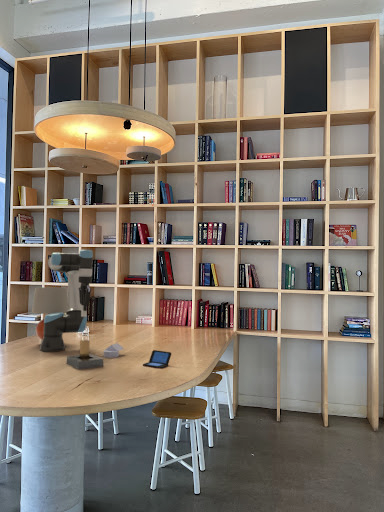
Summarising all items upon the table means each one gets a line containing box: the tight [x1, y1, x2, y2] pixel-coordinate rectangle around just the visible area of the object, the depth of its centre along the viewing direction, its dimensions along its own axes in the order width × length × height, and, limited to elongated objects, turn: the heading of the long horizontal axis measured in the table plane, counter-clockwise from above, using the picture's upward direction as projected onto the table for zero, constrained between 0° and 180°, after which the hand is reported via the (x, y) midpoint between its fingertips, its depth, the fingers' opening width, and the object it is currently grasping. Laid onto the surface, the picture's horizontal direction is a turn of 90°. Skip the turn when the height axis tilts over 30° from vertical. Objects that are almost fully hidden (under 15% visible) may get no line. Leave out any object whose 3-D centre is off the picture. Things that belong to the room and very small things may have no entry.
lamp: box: [31, 286, 68, 344], centre depth 290 cm, size 25×25×39 cm
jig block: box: [66, 353, 104, 370], centre depth 226 cm, size 16×14×4 cm
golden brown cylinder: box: [79, 339, 91, 360], centre depth 226 cm, size 5×5×12 cm
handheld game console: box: [142, 349, 172, 369], centre depth 230 cm, size 12×11×7 cm
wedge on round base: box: [103, 342, 125, 359], centre depth 254 cm, size 9×7×13 cm
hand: (83, 316), depth 244 cm, fingers closed
